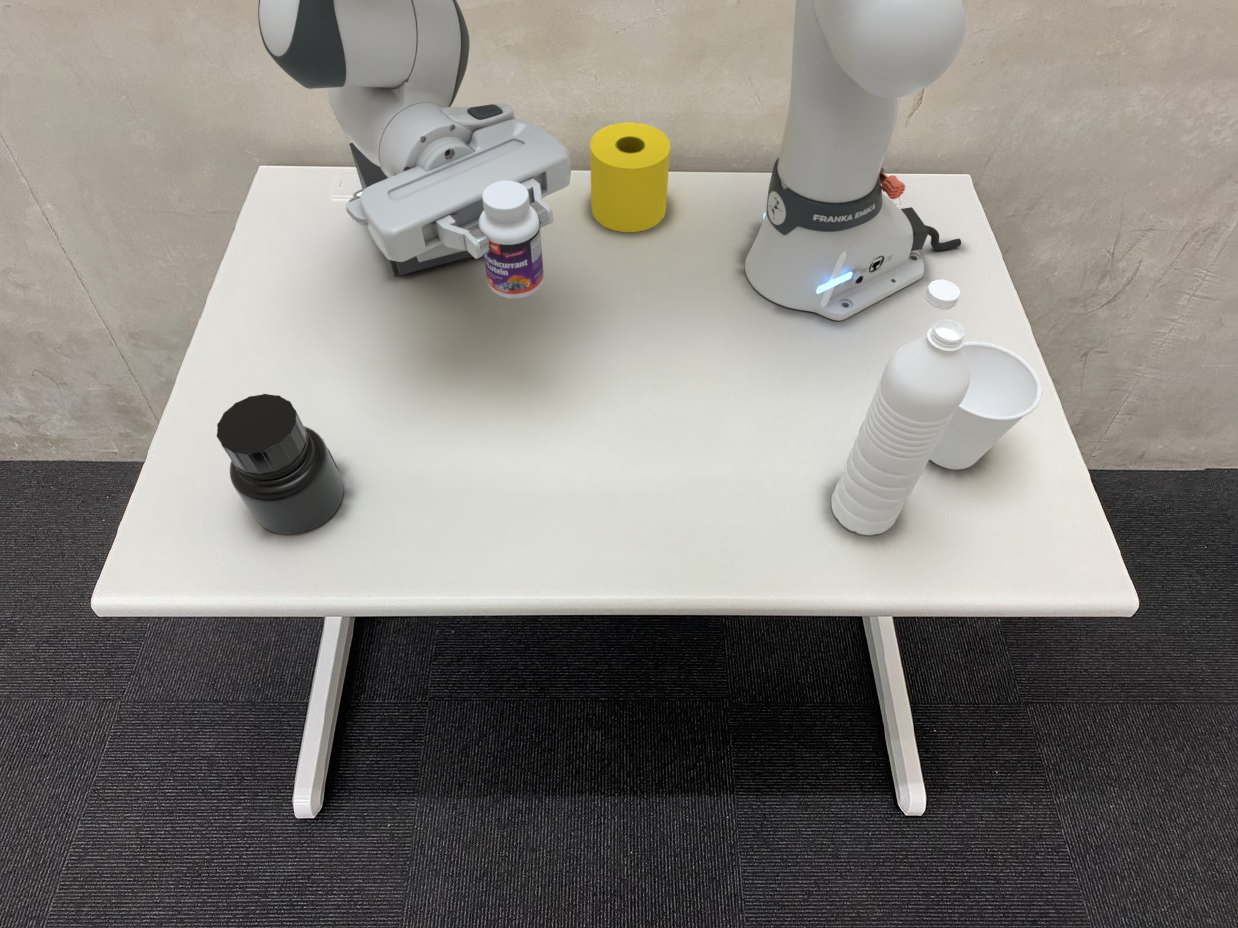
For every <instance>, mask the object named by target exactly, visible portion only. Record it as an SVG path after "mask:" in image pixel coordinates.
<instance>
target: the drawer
mask: <svg viewBox="0 0 1238 928" xmlns="http://www.w3.org/2000/svg"><path fill="white" fill-rule="evenodd" d="M478 228H479V227H478ZM476 229H477V228H476ZM474 230H475V229H474ZM471 231H472V230H471ZM472 257H473V256H472V255H471V254H470V253H469V252H468V251H464V250H459V249H454V248H450V247H446V246H445V245H444V244H441V245H439V246H437V247H434V248H432V249H430V250H428V251H426V252H424V253H421V254H419V255H417V256H415V257H413V258H411V259H408V260H406V261H404V262H398V261H396V265H397V268H398V271H399V274H400V275H399V276H403V275H406V274H410V273H414V272H419V271H422V270H427V269H429V268H433V267H437V266H440V265H445V264H448V263H453V262H456V261H460V260H464V259H467V258H468V259H469V258H472Z"/></svg>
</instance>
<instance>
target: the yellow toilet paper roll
mask: <svg viewBox="0 0 1238 928" xmlns="http://www.w3.org/2000/svg"><path fill="white" fill-rule="evenodd" d="M589 143H590V144H589V149H590V152H589V153H590V155H589V156H590V200H591V204H590V206H591V207H590V208H591V209H590V210H591V214H592V216H593V218H594V219H595V220H596V222H598V224H600V225H601V226H602V227H604V228H607V229H609V230H612V231H615V232H620V233H639V232H645V231H647V230H649V229H652V228H654V227H655V226H657V225H659V223H661V222H662V221H663V219H664V218H665V216H666V211H667V201H668V200H667V197H668V195H667V194H668V184H669V171H670V170H669V169H670V157H671V156H670V155H671V142H670V139H669V138H668V136H667V135H666V134H665V133H664V132H663V131H662V130H660V129H658V128H657V127H655V126H652V125H649V124H646V123H640V122H627V121H626V122H617V123H614V124H610V125H607V126H605V127H602V128H600V129H598V131H596V132H595V134H593V136H592V138H591V139H590V142H589Z"/></svg>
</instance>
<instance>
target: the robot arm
mask: <svg viewBox="0 0 1238 928" xmlns="http://www.w3.org/2000/svg"><path fill="white" fill-rule="evenodd" d="M794 9H795V10H794V22H793V35H792V37H793V38H792V53H791V55H792V56H791V58H792V59H791V77H790V78H791V79H790V91H789V92H790V93H789V101H788V107H787V113H786V118H785V124H784V129H783V130H784V131H783V135H782V140H781V145H780V151H779V154H778V155H779V156H778V157H777V158H776V160H775V161H774V164H773V168H772V172H771V176H770V180H769V184H768V191H767V200H766V211H765V212H764V213H763V220H762V222H761V225H760V228H759V230H758V232H757V235H756V238H755V239H754V242H753V244H752V246H751V248H750V249H749V251H748V252H747V255H746V257H745V261H744V271H745V275H746V278H747V280H748V281H749V283H750V285H751V286H752V287H753V288H754V290H756V291H757V292H758V293H759V294H760V295H761V296H763V297H764V298H766V299H767V300H769V301H771V302H773V303H774V304H777V305H780V306H783V307H785V308H789V309H794V310H798V311H805V312H810V313H811V312H812V313H815V314H818V315H820V316H822V317H825V318H828V319H829V320H833V321H836V322H837V321H839V322H840V321H844V320H846V319H848V318H850V317H852V316H854V315H856V314H857V313H859V312H861V311H862V310H865V309H866V308H869V307H870V306H872V305H874V304H876V303H878V302H880V301H882V300H884V299H885V298H887V297H889V296H892V295H893V294H895V293H897V292H899V291H901V290H903V289H904V288H906V287H908V286H910V285H912V284H914V283H915V282H918V281H919V280H920V279H922V278H923V277H924V273H925V263H924V260H923V258H922V256H921V253H920V252H919V251H922V250H923V248H924V246H925V243H926V241H927V238H928V236H929V237H930V246H931V248H932V249H933V250H936V251H939V252H940V251H947V250H950V249H954V248H957V247H960V246H961V245H962V240H961V238H959V237H958V238H954V239H951V240H948V241H944V242H940V233H939V231H938V230H937V229H936V228H935V227H933V226H931V225H927V224H925V223H924V221H923V220H922V219H921V218H920V216H919V215H918V213H917V212H916V211H915V209H914V208H913V207H912V206H911V207H904V208H900V206H898V205H897V204H896V203H895V202H894V201H893V200H897V199H899V198H901V196H902V195H903V194H904V193H905V191H906V185H905V183H904V182H902V181H901V180H899V179H898V177H897V176H896V175H893V174H892V175H889V176H888V175H887V174H886V173H885V169H884V168H883V163H884V160H885V158H886V154H887V150H888V147H889V144H890V141H891V138H892V135H893V132H894V128H895V125H896V121H897V117H898V108H899V107H898V106H899V105H898V98H899V99H900V98H904V97H908V96H911V95H913V94H916V93H918V92H920V91H922V90H924V89H925V88H928V87H929V86H930V85H932V84H933V83H935V81H936V80H938V79H939V78H940V77H941V76H942V75H944V73H945V72H946V71H947V70H948V69H949V68H950V66H951V65H952V64H953V62H954V61H955V59H956V57H957V55H958V54H959V52H960V49H961V47H962V44H963V41H964V38H965V33H966V14H965V9H964V5H963V0H795V8H794ZM257 15H258V16H257V17H258V18H257V19H258V28H259V33H260V37H261V41H262V44H263V46H264V49H265V50H266V52H267V54H268V55H269V56H270V57H271V58H272V60H273V61H274V62H275V63H276V64H277V65H278V67H279V68H280V69H282V70H283V72H285V73H286V74H287V75H288V76H289V77H291V79H293V80H294V81H295V82H297V83H298V84H299V85H301V86H302V87H304V88H305V89H308V90H314V89H315V90H316V89H327V92H328V93H327V94H328V101H329V105H330V108H331V110H332V113H333V115H334V117H335V119H336V121H337V123H338V125H339V127H340V128H341V130H342V131H343V133H344V134H345V136H346V137H347V138H348V140H349V141H350V143H353V144H354V145H355V146H356V147H357V148H358V149H359V150H360V151H361V152H362V153H363V154H364V155H365V156H366V157H367V158H368V159H369V160H370V161H371V162H372V163H374V164H375V165H377V166H379V167H381V169H382V171H383V173H384V174H385V175H386V176H387V179H385V180H382V181H380V182H378V183H375V184H373V185H371V186H369V187H367V188H364V189H362V188H361V189H358V190H357V191H355V192H354V193H353V194H352V196H353V197H352V198H351V199H349V200H348V202H347V203H346V204H345V210H346V212H347V214H348V215H349V216H350V218H352V220H353V221H355V223H357V224H358V225H361V226H366V227H367V230H368V232H369V234H370V236H371V238H372V239H373V241H374V243H375V245H376V246H377V247H378V249H379V250H380V252H381V253H382V254H383V255H384V256H385V257H386V259H387V260H388V259H389V260H393V261H398V262H404V261H406V260H408V259H411V258H413V257H415V256H417V255H419V254H421V253H424V252H426V251H428V250H430V249H432V248H434V247H437V246H439V245H441V244H444V245H445V246H446V247H450V248H454V249H459V250H464V251H468V252H469V253H470V254H471V255H472V257H473V258H474V259H475V260H477V259H480V258H483V257H484V255H486V254H488V253H490V252H491V248H490V247H489V245H490V242H489V239H488V237H487V236H486V235H485V234H482V231H481V230H480V229H479V228H478V227H479V218H480V215H481V213H482V212H483V211H484V207H483V198H482V195H483V191H484V190H485V189H486V188H487V187H488V186H489V185H491V184H493V183H495V182H499V181H515V182H518V183H520V184H522V185H523V186H525V187H526V189H527V190H528V194H529V203H530V206H531V207H532V208H533V209H534V210H535V211H536V213H537V215H538V217H539V223H540V229H542V228H544V227H547V226H549V225H551V224H553V223H554V214H553V209H552V208H551V207H550V205H549V204H548V203H546V202H545V201H544V200H543V198H546V197H548V196H550V195H552V194H554V193H556V192H559V191H561V190H563V189H566V188H567V187H568V186H569V185H570V183H571V175H572V163H571V162H572V161H571V154H570V151H569V150H568V148H567V147H566V145H565V144H564V143H563V142H561V141H560V140H559V139H557V138H556V137H555V136H554V135H553V134H551V133H550V132H548V131H547V130H545V129H544V128H542V127H541V126H539V125H538V124H536V123H534V122H532V121H530V120H526V119H523V118H516V116H515V112H514V108H512V107H511V106H510V105H509V104H507V103H505V102H495V103H489V104H484V105H476V106H465V107H464V106H463V107H461V106H459V107H457V106H452V105H453V103H454V101H455V99H456V98H457V95H458V92H459V90H460V88H461V85H462V83H463V80H464V78H465V74H466V72H467V67H468V63H469V56H470V34H469V29H468V26H467V23H466V20H465V16H464V14H463V11H462V8H461V7H460V5H459V3H458V1H457V0H258V6H257ZM883 192H884V193H883ZM476 228H477V229H476ZM474 229H475V230H474ZM471 230H472V231H471Z"/></svg>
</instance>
